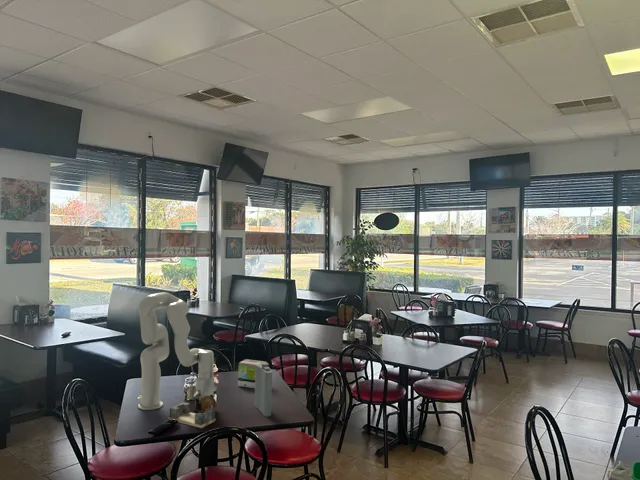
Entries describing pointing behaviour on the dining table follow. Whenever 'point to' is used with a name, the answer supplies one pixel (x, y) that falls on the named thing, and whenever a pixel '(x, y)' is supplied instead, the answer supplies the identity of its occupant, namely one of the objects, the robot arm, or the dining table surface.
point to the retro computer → (247, 373)
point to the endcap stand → (191, 415)
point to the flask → (263, 388)
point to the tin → (206, 403)
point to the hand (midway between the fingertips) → (204, 407)
